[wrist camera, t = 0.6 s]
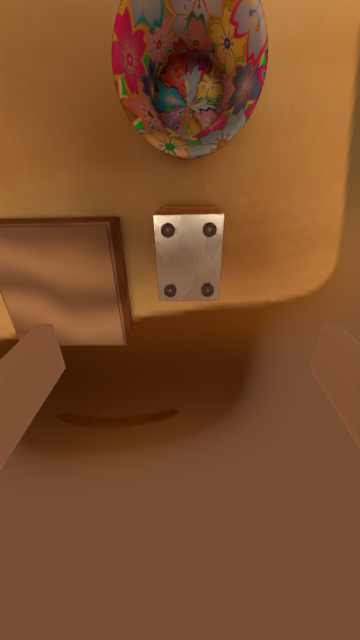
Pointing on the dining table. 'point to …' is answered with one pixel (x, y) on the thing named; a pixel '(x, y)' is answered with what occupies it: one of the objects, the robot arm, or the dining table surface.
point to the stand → (66, 278)
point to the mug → (189, 70)
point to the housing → (188, 252)
